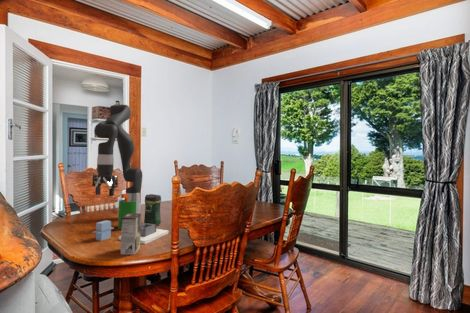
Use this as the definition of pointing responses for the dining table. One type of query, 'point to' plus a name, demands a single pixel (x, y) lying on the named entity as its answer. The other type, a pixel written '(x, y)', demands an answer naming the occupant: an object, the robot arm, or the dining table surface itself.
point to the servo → (103, 230)
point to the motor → (125, 208)
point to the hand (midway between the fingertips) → (104, 195)
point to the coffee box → (130, 233)
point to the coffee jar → (152, 209)
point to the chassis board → (150, 233)
